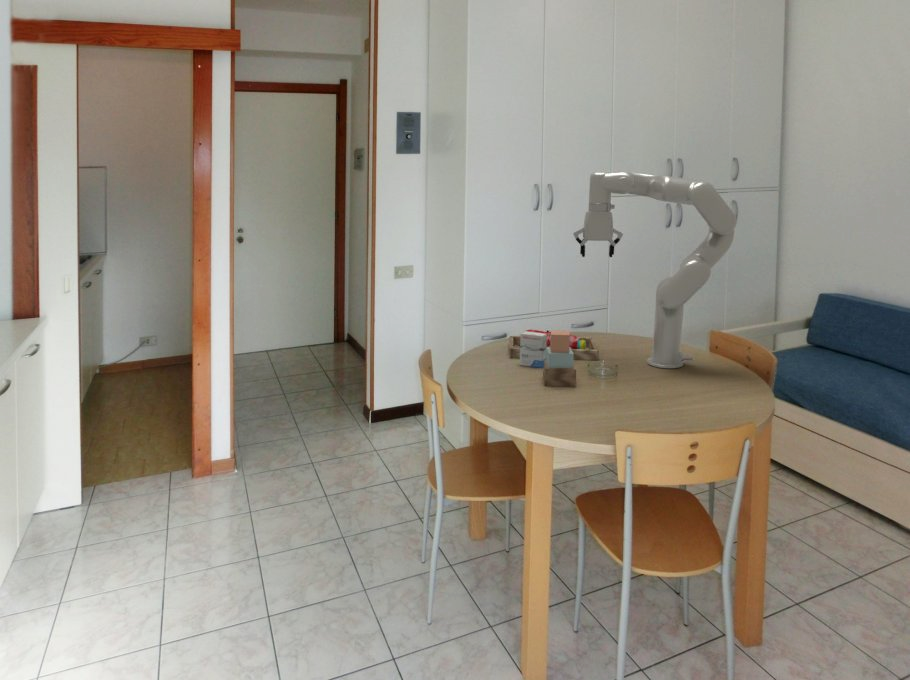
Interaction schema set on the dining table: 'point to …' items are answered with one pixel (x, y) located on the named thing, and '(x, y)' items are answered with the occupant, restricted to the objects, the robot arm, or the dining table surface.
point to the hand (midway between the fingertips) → (596, 256)
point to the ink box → (533, 349)
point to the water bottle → (574, 341)
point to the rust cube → (559, 341)
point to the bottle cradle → (578, 353)
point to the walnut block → (559, 376)
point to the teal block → (559, 359)
